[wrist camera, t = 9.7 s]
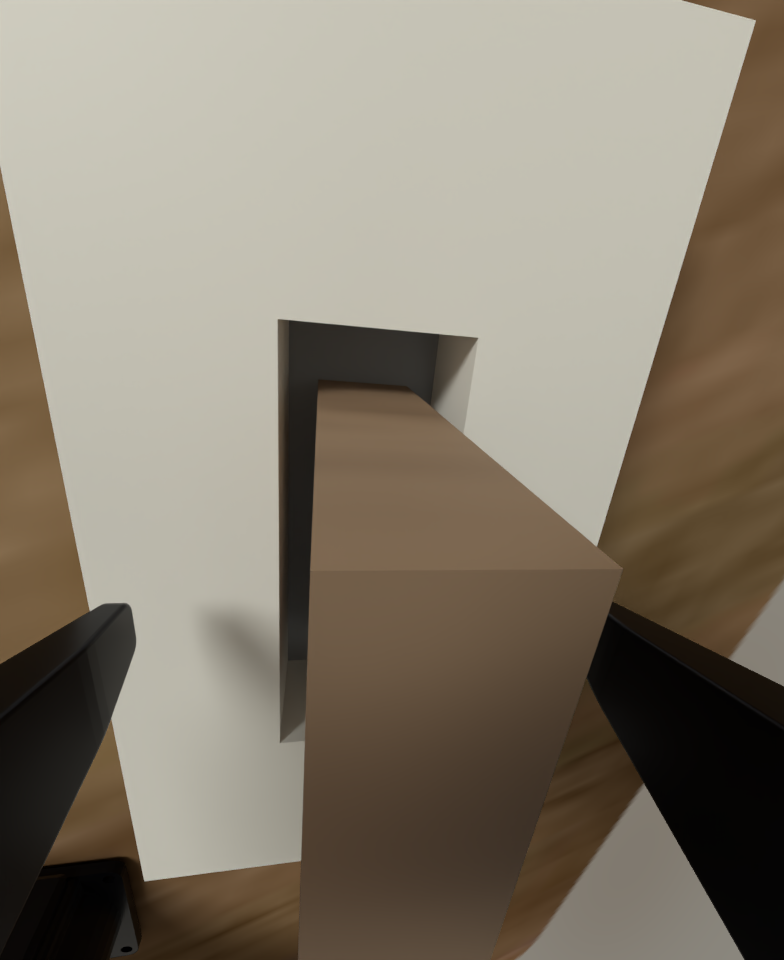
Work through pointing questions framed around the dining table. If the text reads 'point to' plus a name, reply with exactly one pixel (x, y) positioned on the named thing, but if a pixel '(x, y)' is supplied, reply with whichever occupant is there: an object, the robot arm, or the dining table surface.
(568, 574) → the walnut plate
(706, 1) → the dining table surface
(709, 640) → the dining table surface
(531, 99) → the slotted board
